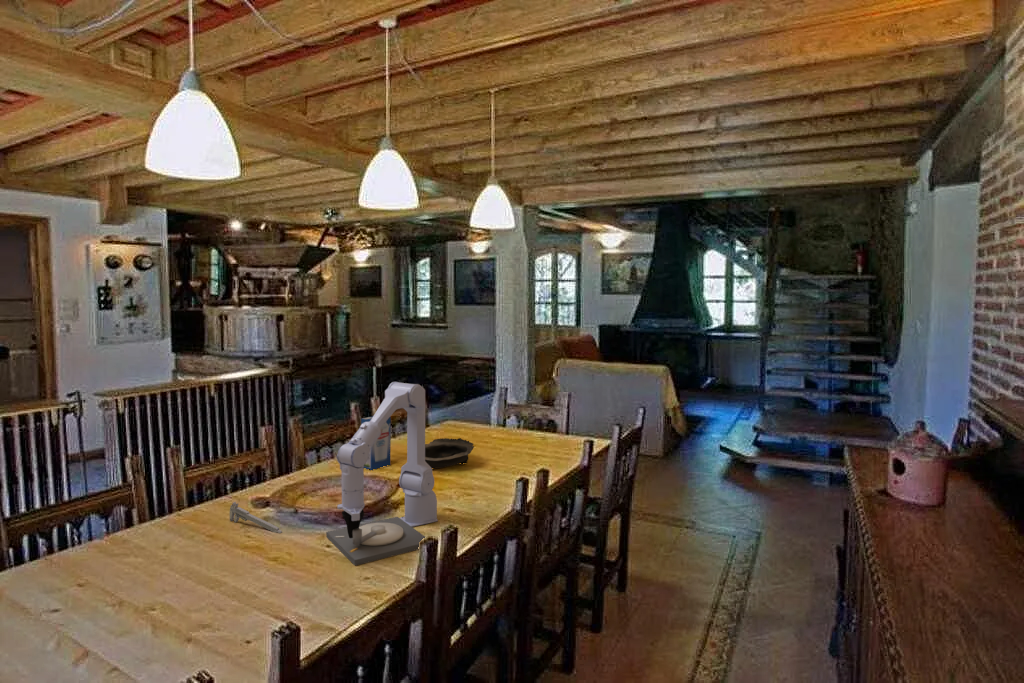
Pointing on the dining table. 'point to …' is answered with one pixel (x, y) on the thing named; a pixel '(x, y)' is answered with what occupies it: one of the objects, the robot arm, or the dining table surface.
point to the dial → (377, 534)
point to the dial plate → (372, 553)
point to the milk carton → (379, 447)
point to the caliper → (250, 518)
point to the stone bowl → (447, 452)
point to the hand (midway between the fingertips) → (353, 537)
